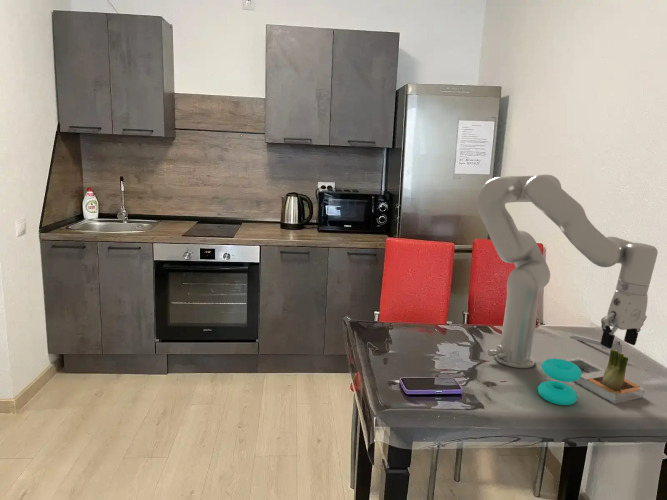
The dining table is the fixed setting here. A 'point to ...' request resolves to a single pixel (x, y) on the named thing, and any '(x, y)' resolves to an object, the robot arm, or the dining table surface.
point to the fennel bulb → (615, 370)
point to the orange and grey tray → (595, 385)
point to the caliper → (599, 343)
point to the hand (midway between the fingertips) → (617, 344)
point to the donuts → (555, 389)
